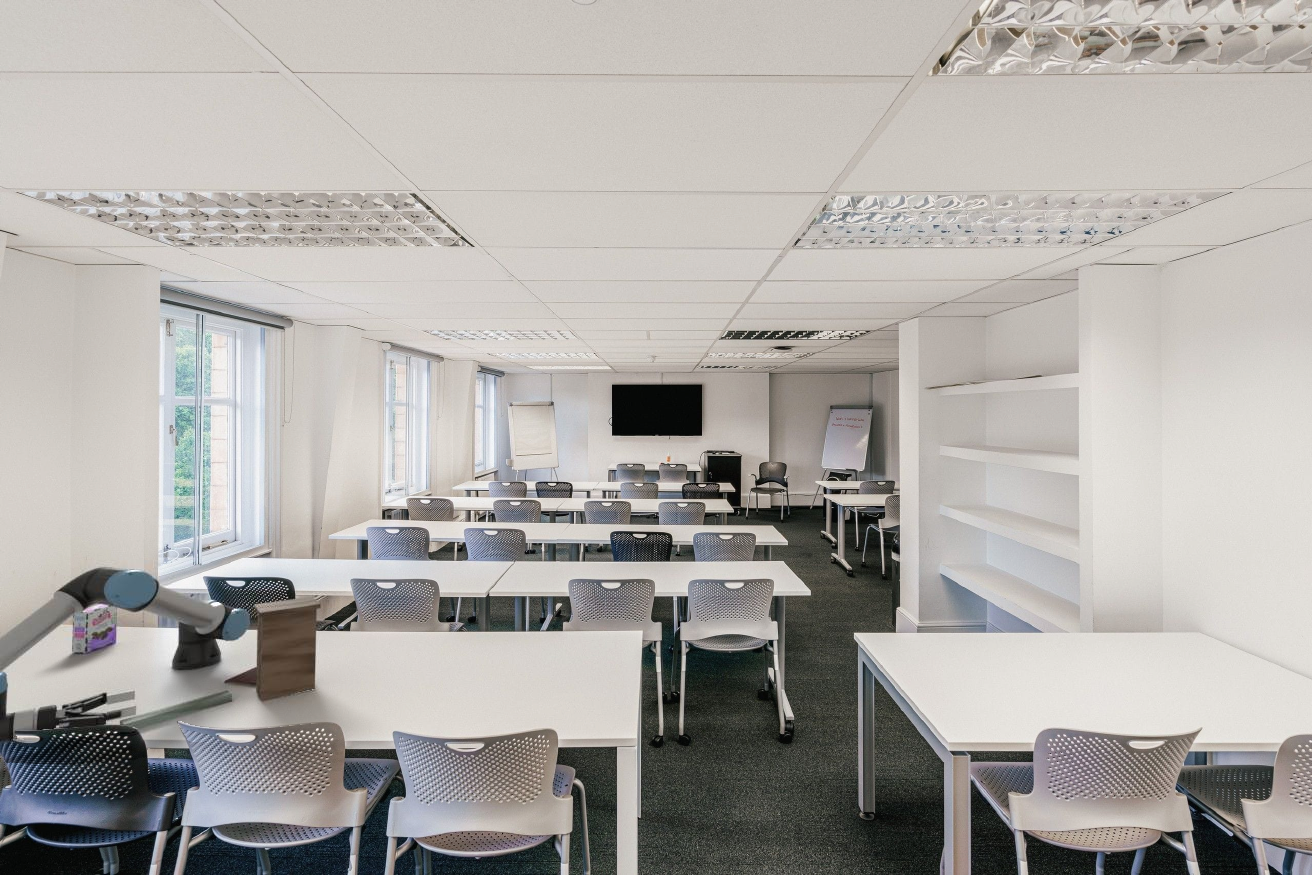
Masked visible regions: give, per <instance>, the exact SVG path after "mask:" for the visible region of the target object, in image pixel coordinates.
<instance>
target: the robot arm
mask: <svg viewBox="0 0 1312 875" xmlns="http://www.w3.org/2000/svg"><path fill="white" fill-rule="evenodd" d="M100 604H103V605H110V606H114V607H117V609H120V610H125V611H128V612H131V613H138V612H141V611H145V612H148V613H151V614H154V615H156V616H160V617H163V618H166V619H170V620H172V621H176V622H178V638H177V639H178V642H177V643H178V644H177V647H176V650H175V653H174V655H173V657H172V660H171V667H172V668H173V669H175V670H193V669H194V670H195V669H200V668H204V667H208V666H211V665H214V664H216V663H218V662H219V661H221V660H222V652H221V648H220V647H219V644H218V642H217V640H221V641H226V642H234V641H236V640H237V641H238V640H239V639H240V638H242V637H243V636H244V635H245V633H246V632H247V630H248V628H249V626H250V623H251V622H250V621H251V619H250V614H249V612H248V611H247V610H246V609H243V608H241V607H240V608H239V607H238V608H236V607H233V606H230V605H229V606H228V605H227V604H224V603H222V602H219V601H218V602H217V600H216V599H206V600H200V599H198V598H194V597H191V596H189V595H186V594H183V593H181V592H178V591H176V590H173V589H170V588H167V587H165V586H163V585H162V586H161V585H160V581H159V580H158V579H157V578H154V576H152V575H151V574H150V573H148V572H146V571H144V570H141V569H137V568H136V569H135V568H120V567H112V566H100V567H95V568H92V569H90V570H87V571H85V572H84V573H83V572H82V574H80V575H78V576H76V577H75V578H73V579H71V580H70V581H68V582H67V583H65V584H64V585H63V586H61V587H60V588H59V589H57V590H56V591H55V592H54V593H53V598H51V599H50V600H48V601H47V602H46V603H44V605H42V606H41V607H39V608H38V609H37V610H35V611H34V612H33V613H31V614H30V615H29V616H28V617H26V618H25V619H23V620H22V621H21V622H20V623H18V624H17V625H16V626H14V627H13V628H11V629H10V630H9V631H8V632H6V633H5V634H3V635H2V636H1V637H0V745H2V744H5V743H6V744H7V743H10V742H15V741H18V740H17V739H18V738H17V736H16V735H14V734H13V733H15V731H16V730H18V731H20V730H43V729H54V728H56V729H57V727H58V729H59V728H68V729H75V728H74V727H79V728H90V727H101V726H106V725H107V722H109V721H113V720H118V719H123V718H124V719H125V718H129V717H134V716H137V704H134V705H129V706H124V707H119V708H115V709H114V708H113V709H110V710H106V712H92V710H94V709H96V708H98V707H101V706H103V705H112V704H113V705H114V704H118V703H122V702H123V703H124V702H127V701H132V700H135V699H136V689H133V690H127V691H122V692H118V693H112V694H111V693H110V694H108V692H106V691H105V692H102V693H99V694H96V695H93V696H90V697H87V698H83V699H80V700H77V701H73V702H69V703H65V704H62V705H61V709H59V710H58V706H57V705H56V704H51V705H47V706H41V707H40V708H38V709H36V708H30V709H25V710H20V711H19V710H18V711H15V712H11V713H7V709H8V708H7V706H8V705H7V703H8V702H7V701H8V687H9V684H8V675H7V673H6V672H5V671H4V670H6V669H7V668H8V667H9V666H11V664H13V663H14V662H16V661H17V660H18V659H19V658H20V657H22V656H23V655H24V654H26V653H27V652H28V651H30V649H32V648H33V647H35V646H36V645H37V644H38V643H39V642H40V641H42V640H43V639H45V638H46V637H47V636H48V635H49V634H51V633H52V632H53V631H55V630H56V629H57V628H58V627H60V626H61V625H63V623H65V622H66V621H67V620H69V619H70V618H72V617H73V615H74V614H75V613H81V612H83V611H84V610H85V609H87V608H90V607H93V605H100ZM89 711H91V712H89ZM13 739H14V741H13Z"/></svg>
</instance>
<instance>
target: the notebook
mask: <svg viewBox="0 0 1312 875" xmlns="http://www.w3.org/2000/svg"><path fill="white" fill-rule="evenodd" d="M256 673H257V666H255V667H253V668H250V669H248V670H245V671H244V672H242V673H239V674H237V675H234V676H232V677H230V678H227V679H225V680H224V684H230V685H237V686H243V687H244V686H245V687H254V688H256Z"/></svg>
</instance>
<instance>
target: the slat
mask: <svg viewBox="0 0 1312 875" xmlns="http://www.w3.org/2000/svg"><path fill="white" fill-rule="evenodd" d="M231 702H233V693H232V692H231V691H229V690H228V689H227V690H223V691H221V692H216V693H213V694H210V695H205V696H203V697H202V696H201V697H198V698H195V699H191V700H187V701H185V702H181V703H177V704H173V705H171V706H165V707H163V708H160V709H156V710H152V711H148V712H146V713H142V714H139V715H137V714H136V715H133V716H129V717H126V718H124V719H123V718H122V719H120V720H119V726H120V725H123V726H130V727H135V728H138V729H137V730H139V729H143V728H146V727H149V726H153V725H156V724H159V723H163V722H167V721H169V720H174V719H176V718H177V719H178V718H179V717H183V716H187V715H190V714H194V713H197V712H200V711H203V710H208V709H210V708H214V707H217V706H221V705H223V704H228V703H231Z"/></svg>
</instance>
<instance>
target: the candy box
mask: <svg viewBox="0 0 1312 875" xmlns="http://www.w3.org/2000/svg"><path fill="white" fill-rule="evenodd" d="M117 613H118V607H114V606H110V605H103V604H96V605H95V606H90V607H88V608H86V609H85V610H84V611H83V612H81V613H75V614H74V615H72V639H71V640H72V641H71V642H72V643H71V644H72V645H71V653H72V654H89V653H91V652H93V651H96V650H99V649H102V648H105V647H107V646H109V645H112V644H116V643H117V621H118V620H117V619H118V618H117V616H118V614H117Z"/></svg>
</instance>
